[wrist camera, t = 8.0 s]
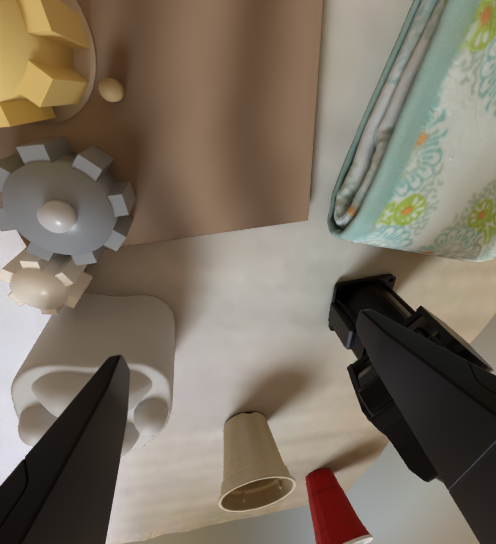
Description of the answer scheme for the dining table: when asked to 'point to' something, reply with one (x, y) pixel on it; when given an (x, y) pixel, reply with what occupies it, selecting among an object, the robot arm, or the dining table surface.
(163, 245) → the dining table surface
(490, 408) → the robot arm
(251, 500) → the flower pot
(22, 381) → the grey paw block
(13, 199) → the gear
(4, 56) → the loose gear
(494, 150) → the towel
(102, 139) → the board
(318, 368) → the dining table surface
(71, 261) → the small gear
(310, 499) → the plastic cup
